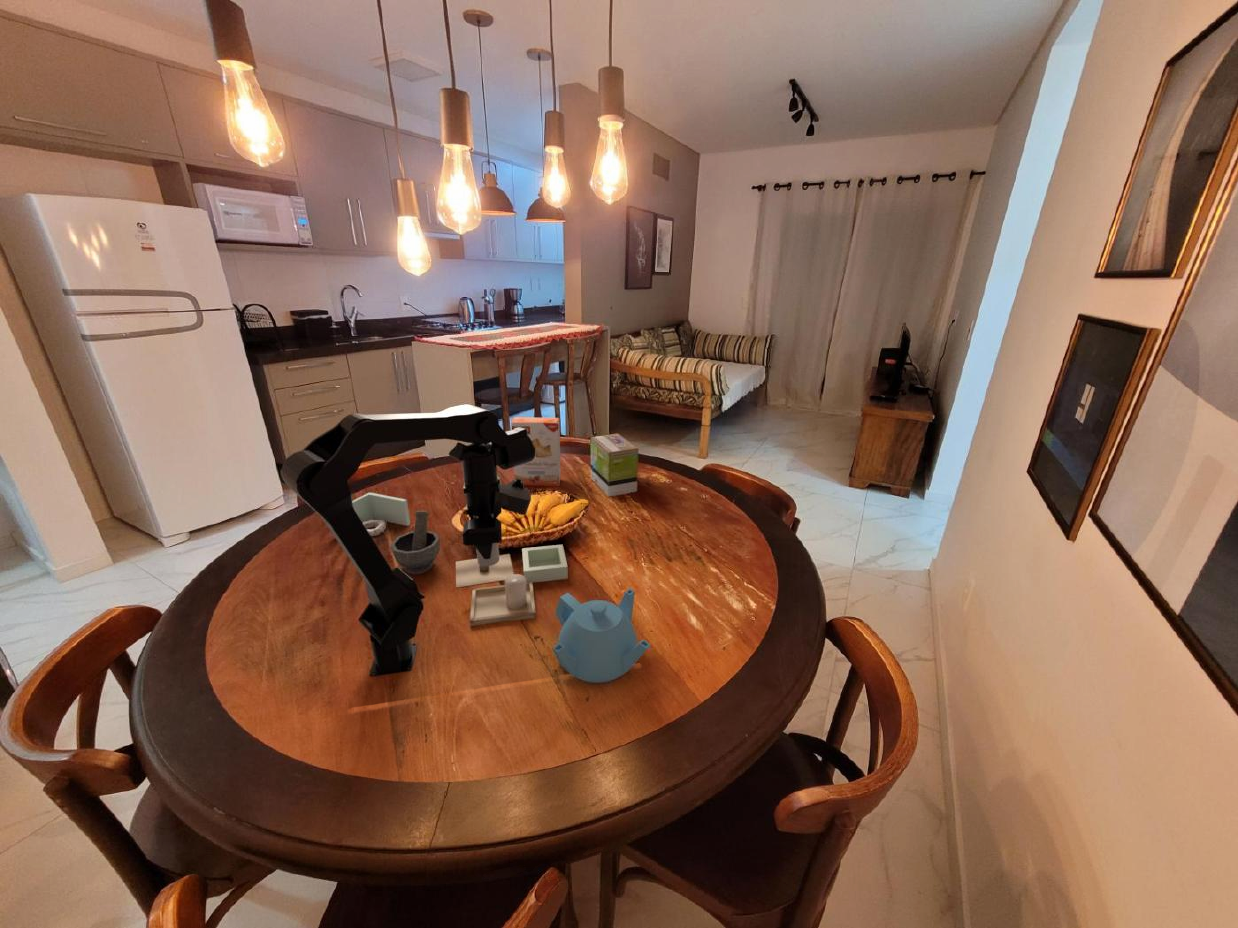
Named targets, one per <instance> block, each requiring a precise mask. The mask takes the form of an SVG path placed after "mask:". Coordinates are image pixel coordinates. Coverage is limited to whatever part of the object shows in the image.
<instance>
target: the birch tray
mask: <svg viewBox="0 0 1238 928" xmlns="http://www.w3.org/2000/svg"><path fill="white" fill-rule="evenodd" d="M471 591H472V592H471V593H472V594H471V602H470V605H471V606H470V615H469V625H470V627H472V626H479V625H480V626H481V625H482V626H483V625H489V624H495V623H496V624H497V623H503V622H504V623H505V622H511V621H520V620H528V619H536V617H537V616H536V605H535V604H536V603H535V595H534V586H533V583H532V582H528V583H526V594H527V604H526V606H525V607H523V608H521V609H518V610H512V609H509V608H508V607H507V605H506V592H505V584H503V585H502V584H501V585H495V586H485V587H475V588H472V590H471Z"/></svg>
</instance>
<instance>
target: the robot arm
mask: <svg viewBox="0 0 1238 928" xmlns="http://www.w3.org/2000/svg"><path fill="white" fill-rule="evenodd" d="M433 440H434V441H436V440H449V441H450V440H451V441H456V442H457V443H456V445H455V446H454V447H453V448H452V449H450V451H449V452H448V456H449V457H452V458H454V459H455V460H458V461H460V462H461V463H462V474H463V483H464V484H463V489H462V490H463V494H465V501H466V505H465V515H467V516H468V517H469V519H468V520H467V521H466V522H465V523H463V528H462V529H463V530H462V534H461V535H462V543H463V545H464V546H465V547H468V546H474V547H475V549H476V548H477V550H478V551H479V552H480V554H481V555H482V557H483V558H484V559H490V558H491V551H492V544H493V543H498V544H499V543H501V542H502V541H503V535H502V534H503V533H502V529H503V528H502V521H501V520H500V519H498V516H500V515H501V514H502V510H504V511H508V512H512V513H516V514H518V515H521V516H526V515H527V513H528V509H529V508H530V507H529V506H530V503H531V501H532V496H531V491H530V490H529V489H528V487H525V485H523V480H522V479H518V478H515V479H514V478H513V479H512V480H511V481H510V483H509V482H506V484H504V483H501V481H500V479H501V478H500V477H499V476H498V467H499V468H500V469H502V470H509V469H511V468H514V467H515V466H518V465H521V464H524V463H527V462H530V461H532V460H533V459H534V457H535V447H534V446H533V443H532V441H531V439H530V438H529V436H528V435H527V430H526V429H524V428H521V427H518V428H515V429H513V430H512V429H511V430H507V431H505V430H504V429H503V428H502V426H501V425H500V422H499V419H498V416H497V415H496V414H495V412H493V411H491V410H489V409H485V408H482V407H479V406H477V405H472V404H469V403H468V404H467V403H466V404H459V405H455V406H450V407H447V408H445V409H443V410H442V411H441V410H440V411H438V412H422V413H421V412H419V413H418V412H417V413H414V412H413V413H387V414H385V413H382V414H380V413H379V414H377V413H376V414H363V413H362V414H361V413H356V412H355V413H350V414H347V415H346V416H345V417H343V418H342V419H341V420H340V421H339V422H338V423H337V424H336V425H335V426H333V427H332V428H330V429H329V430H327V431H326V432H323V433H322V434H320V435H319V436H318V437H317V436H316V438H314V439H312V440H311V442H309V444H308V445H306V446H305V447H304V448H303V449H302V450H299V451H297V452H293V453H292V454H291V455H289V456H288V457H287V458H286V459H285V461H284V462H283V463H282V467H281V469H280V470H279V471H280V477H281V479H282V481H283V482H284V484H285V485H286V486H288V487H289V488H290V489H291V491H293V492H294V493H295V494H296V495H297V496H298V497H299V498H300V499H301V500H302V501H303V502H305V503H306V504H307V505H308V506H309V507H310V508H311V509H312V510H313V511H314V512H315V513H317V514H318V515H319V517H321V519H322V520H323V522H324V523H325V525H326V527H327V528H328V529H329V531H330V532H331V534H332V535H333V537H334V539H335V540H336V541H337V542H338V544H339V545H340V547H341V549H342V550H343V551H344V553H345V554H346V555H347V557H348V558H349V560H350V561H351V563H352V564H353V566H354V568H355V569H356V570H357V572H358V573H359V575H360V576H361V578H362V579H363V581H364V583H365V592H366V594H367V598H368V600H369V603H368V604H367V606H366V607H365V608H364V610H363V612H362V613H361V615H360V616H359V618H358V622H359V623H360V624H361V625H362V626H363V628H364V629H366V631H367V632H369V634H370V635H369V639H370V644H371V648H372V649H371V650H372V654H373V662H372V665H371V668H370V671H369V674H368V675H369V676H370V677H378V676H385V675H390V674H398V673H405V672H411V671H412V669H413V667H414V661H415V658H416V653H417V648H418V643H417V642H411V639H413V638H414V637H416V632H417V629H418V625H419V620H420V616H421V615H422V612H423V611H424V608H425V605H424V602H423V600H424V599H425V597H426V596H425V595H424V594H422V593H421V592H420V591H419V588H418V585H417V583H416V581H415V580H414V578H412V577H411V576H410V575H408V573H406V571H403V569H401V568H400V567H399V566H396V567H395V568H394V569H392V568H391V566H390V564H389V563H388V561H387V560H386V558H385V556H384V555H383V553H382V552H381V550H380V549H379V547H378V545H377V543H376V542H375V540H374V539H373V536H370V534H369V533H368V531H367V529H368V528H367V529H366V528H365V526H364V525H363V523H362V521H361V520H360V518H359V517H358V515H357V513H356V512H355V510H354V508H353V502H352V501H353V494H352V489H351V487H350V484H349V482H348V480H350V479H351V477H352V476H354V475H355V473H357V471H358V470H359V468H360V467H361V465H362V463H363V460H364V459H365V458H366V456H367V454H368V452H369V451H370V449H372V448H373V447H374V445H381V444H398V443H409V442H410V443H411V442H423V441H433ZM464 443H467V444H464ZM524 487H525V488H524ZM422 599H423V600H422Z"/></svg>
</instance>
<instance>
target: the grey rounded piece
mask: <svg viewBox="0 0 1238 928" xmlns="http://www.w3.org/2000/svg"><path fill="white" fill-rule="evenodd" d="M475 551H476V559H477V561H478V564H479V565H481V566H492V565H494V564H496V563H498V561H499V555H500V549H499V543H493V544H492V551H491V558H490V559H484V558H483V557H482V555H481V554H480V552H479V551H478V550H477V548H476V547H475Z"/></svg>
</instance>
